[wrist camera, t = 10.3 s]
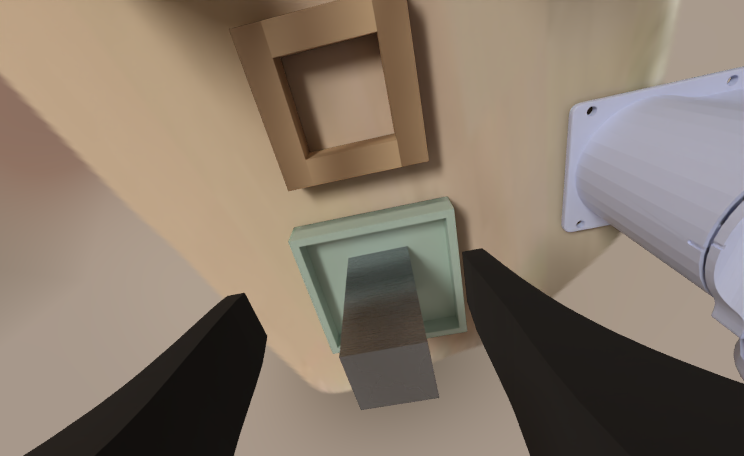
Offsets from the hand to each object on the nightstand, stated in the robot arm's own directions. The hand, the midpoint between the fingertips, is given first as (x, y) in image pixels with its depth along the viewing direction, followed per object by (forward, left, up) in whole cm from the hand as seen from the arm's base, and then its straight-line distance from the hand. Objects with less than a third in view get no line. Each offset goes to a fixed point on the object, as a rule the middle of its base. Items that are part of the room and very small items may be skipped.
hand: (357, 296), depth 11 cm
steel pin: (0, +7, -10) cm, 12 cm away
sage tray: (0, +7, -10) cm, 13 cm away
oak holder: (0, -5, -10) cm, 12 cm away
